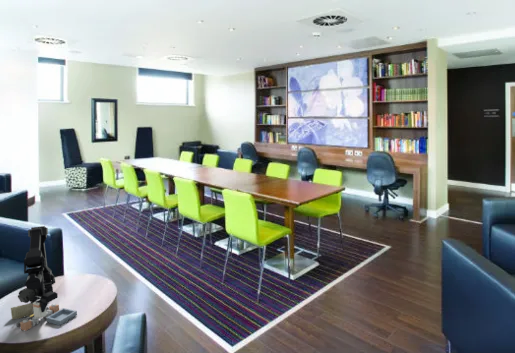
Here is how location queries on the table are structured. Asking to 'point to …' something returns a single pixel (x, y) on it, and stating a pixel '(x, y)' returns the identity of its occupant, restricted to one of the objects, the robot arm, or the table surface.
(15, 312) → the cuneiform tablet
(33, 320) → the fuse block
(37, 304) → the marked fuse
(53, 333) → the table surface
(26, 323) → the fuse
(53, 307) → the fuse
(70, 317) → the tray
